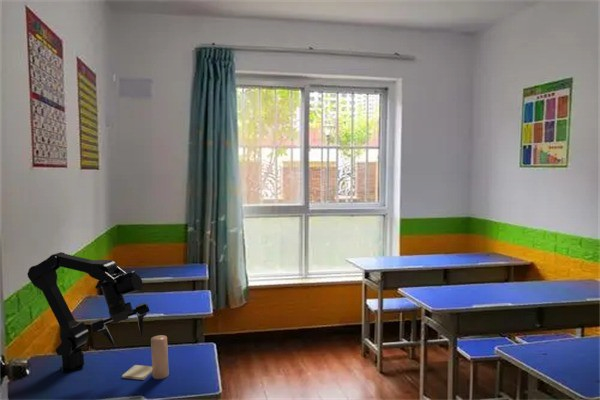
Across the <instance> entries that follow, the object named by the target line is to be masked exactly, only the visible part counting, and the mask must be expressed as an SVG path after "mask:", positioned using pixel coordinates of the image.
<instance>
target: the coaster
mask: <svg viewBox="0 0 600 400" xmlns="http://www.w3.org/2000/svg"><path fill="white" fill-rule="evenodd" d="M151 374H153V372H152V365H151V366H150V365H141V364H140V365H139V364H134V365H133V366H132V367H130V368H129V369H128V370H127V371H126V372H124V373H123V374H122V376H121V378H123V379H129V380H130V379H132V380H142V381H145V379H146V378H147V377H149V376H150V375H151Z"/></svg>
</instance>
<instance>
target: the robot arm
mask: <svg viewBox="0 0 600 400" xmlns="http://www.w3.org/2000/svg"><path fill="white" fill-rule="evenodd" d="M60 268H64V269H69V270H74V271H77V272H81V273H84V274H88V275H89V277H91V278H93V279H94V280H97V283H96V285H95V287H94V288H95V289H97V290H98V289H101V290H102V294H103V296H104V299H105V303H106V306H107V309H108V313H109V317H108V318H106V319H104V318H103V317H102V318H99V319H96V320H93V321H91V322H90V323H91V324H90V328H91V331H92V333H95V332H97V334H100V333H101V334H102V335H103V336H105V338H107V340H108V342H110V344H111V345H112V346H113V347H115V345H116V344H115V342H114V339H113V337H112V335H111V333H110V331H109V329H108V325H110V324H112V323H113V324H118V323H120V322H121V321H125V320H126V321H127V320H128V319H129V318H130V317H132V316H133V315H136V317H137V323H138V324H137V325H138V329H139V333H140V336H143V330H144V329H143V323H144V317H146V316H147V313H149V312H151V311H150V308H149V305H148V303H147V302H143V303H140V304H139V303H138V304H137V305H134V308H133V307H132V304H131V301H129V302H126V301H125V296H124V295H128V294H131V293H135V292H139V291H141V290H142V289H143V279H142V278H141V276H140V275H139V274H137V273H136V271H135V270H132V271H129V272H126V271H124V270H123V269H122V268H120V267H119V266H118V264H117V263H116V262H115V261H114V260H111V259H95V260H93V259H88V258H85V257H81V256H77V255H72V254H68V253H65V252H57V253H53V254H51V255H50V256H48V258H46V259H44V260H43V261H41V262H40V263H38V264H36V265H32V266H31V267H29V268H28V270H27V271H28V272H27V277H28V279H29V280H30V283H31V284H32V285H33V286H34V287H35V288H37V289H39V290H40V291H41V292H42V294H43V296H44V297H45V299H46V302H47V303H48V305H49V307H50V309H51V311H52V313H53V316H54V318H55V319H56V321H57V323H58V325H59V327H60V330H59V331H60V332H59V338H60V341H61V343H60V344H58V346H57V347H56V348H55V352H56V355H57V356H61V370H62V371H61V372H62V373H63V374H65V373H69V372H73V371H80V370H83V369H84V365H85V357H84V356H85V355H84V351H82V348H85V346H86V344H87V342H88V341H89V337H90V335H89V330H88V329H87V327H86V324H85V322H83V321H81V322H78V320H76V319H75V318H74V315H73V313H72V312H71V309H70V308H69V305H68V303H67V302H66V300H65V298H64V296H63V294H62V292H61V290H60V288H59V286H58V273H57V270H59V269H60Z"/></svg>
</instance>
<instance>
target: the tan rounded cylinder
mask: <svg viewBox="0 0 600 400" xmlns="http://www.w3.org/2000/svg"><path fill="white" fill-rule="evenodd" d="M150 348H151V349H150V350H151V366H152V378H153V379H155V380H162V379H165V378H167V377H168V376H170V375H169V372H170V371H169V369H170V368H169V354H168V353H169V351H168V350H169V349H168V337H167V336H166V335H154V336H152V337H151V338H150Z"/></svg>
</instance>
